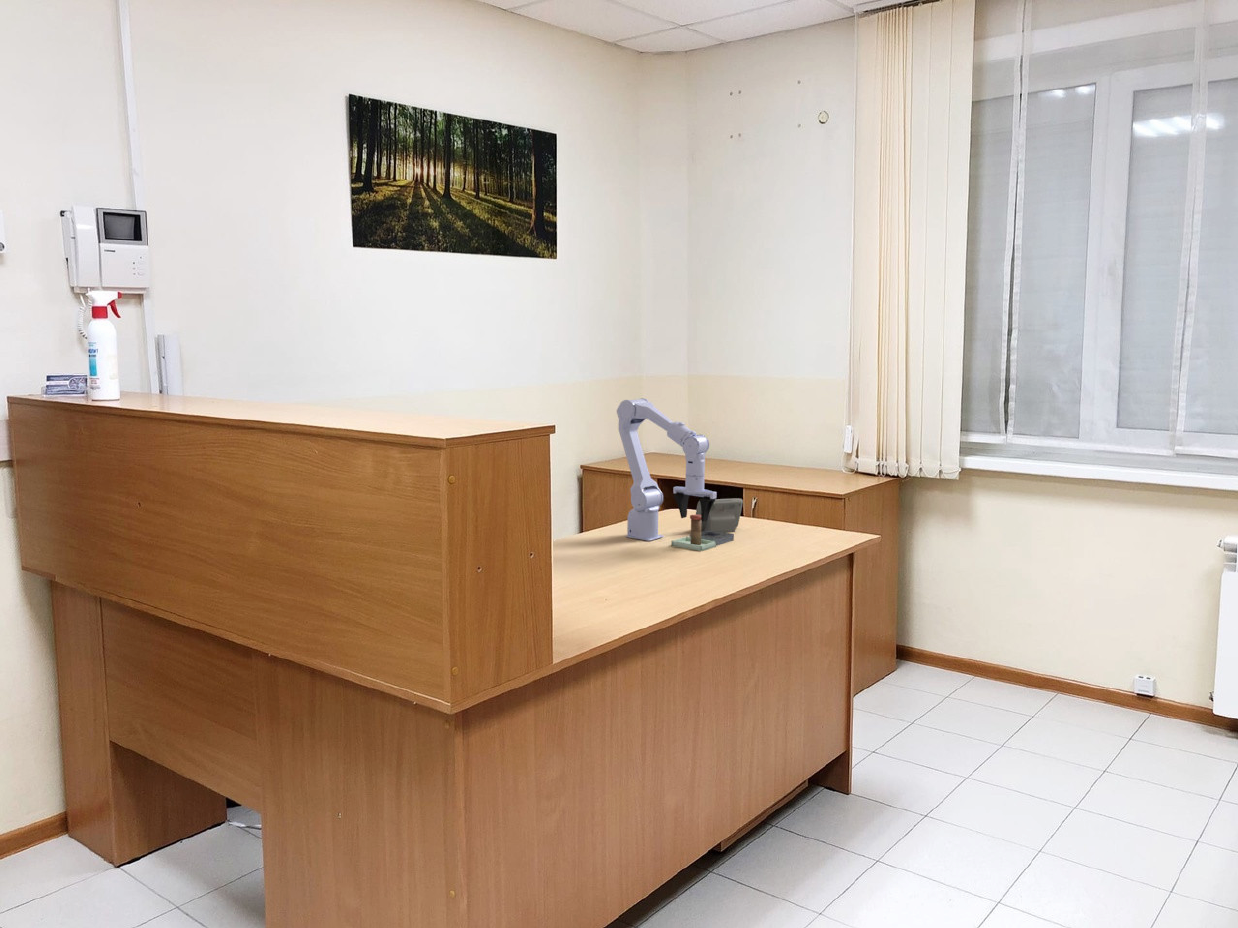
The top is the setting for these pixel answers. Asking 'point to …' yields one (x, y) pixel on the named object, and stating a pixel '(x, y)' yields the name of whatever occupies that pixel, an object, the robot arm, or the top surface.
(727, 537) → the socket plate
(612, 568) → the top surface
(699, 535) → the pin
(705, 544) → the tray
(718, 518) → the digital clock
